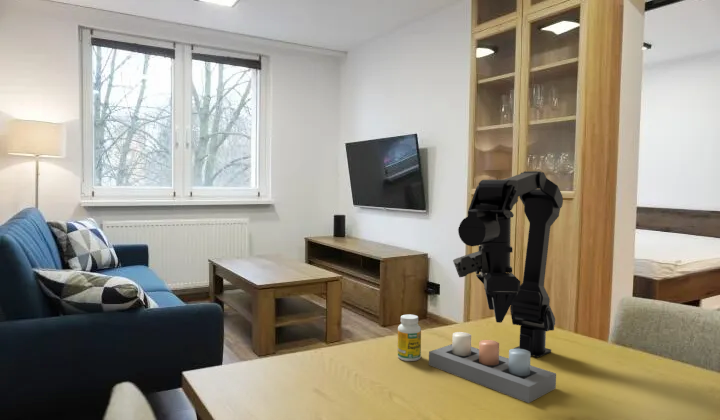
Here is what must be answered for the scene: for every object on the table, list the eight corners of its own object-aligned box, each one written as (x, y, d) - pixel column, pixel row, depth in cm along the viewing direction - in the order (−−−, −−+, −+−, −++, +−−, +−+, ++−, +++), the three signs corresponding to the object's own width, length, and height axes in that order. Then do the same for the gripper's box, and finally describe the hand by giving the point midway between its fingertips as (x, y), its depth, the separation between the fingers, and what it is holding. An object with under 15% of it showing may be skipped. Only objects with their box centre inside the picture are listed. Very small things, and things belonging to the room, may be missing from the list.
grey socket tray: (457, 354, 111) (457, 342, 111) (555, 388, 93) (556, 373, 93) (428, 364, 105) (429, 351, 105) (528, 403, 87) (529, 386, 86)
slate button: (515, 366, 96) (516, 347, 96) (533, 372, 93) (534, 352, 93) (504, 371, 94) (505, 351, 94) (523, 377, 91) (523, 357, 91)
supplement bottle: (410, 352, 113) (411, 312, 113) (425, 358, 109) (426, 317, 108) (392, 356, 110) (393, 315, 110) (407, 363, 106) (407, 320, 105)
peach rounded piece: (486, 357, 102) (486, 338, 101) (502, 362, 99) (503, 343, 98) (475, 361, 99) (475, 342, 99) (491, 366, 96) (491, 347, 96)
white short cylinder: (459, 348, 107) (460, 330, 107) (474, 353, 104) (475, 335, 104) (448, 352, 104) (448, 334, 104) (463, 357, 101) (463, 338, 101)
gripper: (452, 235, 107) (452, 302, 109) (460, 247, 89) (459, 328, 90) (503, 235, 106) (502, 303, 107) (521, 247, 88) (520, 330, 89)
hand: (495, 315), depth 98 cm, fingers open, 9 cm apart
